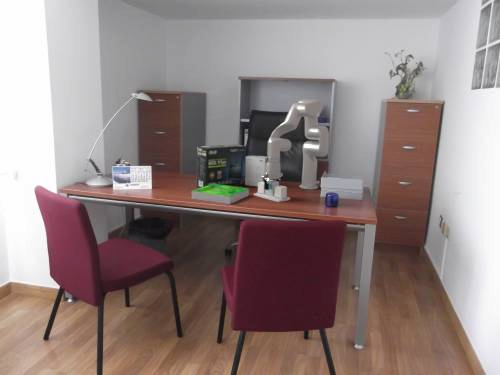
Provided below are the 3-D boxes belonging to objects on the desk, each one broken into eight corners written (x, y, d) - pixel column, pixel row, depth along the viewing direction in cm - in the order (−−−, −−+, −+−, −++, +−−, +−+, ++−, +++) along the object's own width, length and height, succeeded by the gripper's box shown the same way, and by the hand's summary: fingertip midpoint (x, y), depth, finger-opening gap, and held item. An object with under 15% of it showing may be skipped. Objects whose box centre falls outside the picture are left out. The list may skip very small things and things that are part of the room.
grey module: (271, 192, 251) (271, 179, 250) (278, 194, 247) (279, 181, 246) (265, 193, 248) (265, 180, 246) (272, 195, 244) (273, 182, 242)
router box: (205, 189, 263) (206, 148, 258) (195, 186, 271) (195, 146, 266) (246, 183, 288) (247, 145, 282) (235, 180, 296) (236, 143, 290)
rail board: (264, 193, 259) (265, 180, 257) (290, 199, 244) (290, 186, 242) (253, 195, 252) (254, 182, 250) (278, 202, 237) (279, 188, 235)
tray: (191, 199, 239) (191, 191, 238) (212, 191, 261) (212, 183, 260) (229, 205, 229) (230, 196, 228) (248, 196, 251) (248, 188, 250)
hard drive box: (269, 185, 282) (270, 157, 278) (264, 187, 275) (265, 158, 271) (249, 183, 289) (250, 155, 285) (244, 184, 282) (245, 156, 278)
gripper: (278, 158, 252) (277, 185, 255) (258, 160, 240) (257, 189, 243) (287, 160, 246) (286, 187, 250) (267, 162, 235) (266, 191, 238)
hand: (272, 188), depth 247 cm, fingers open, 9 cm apart
